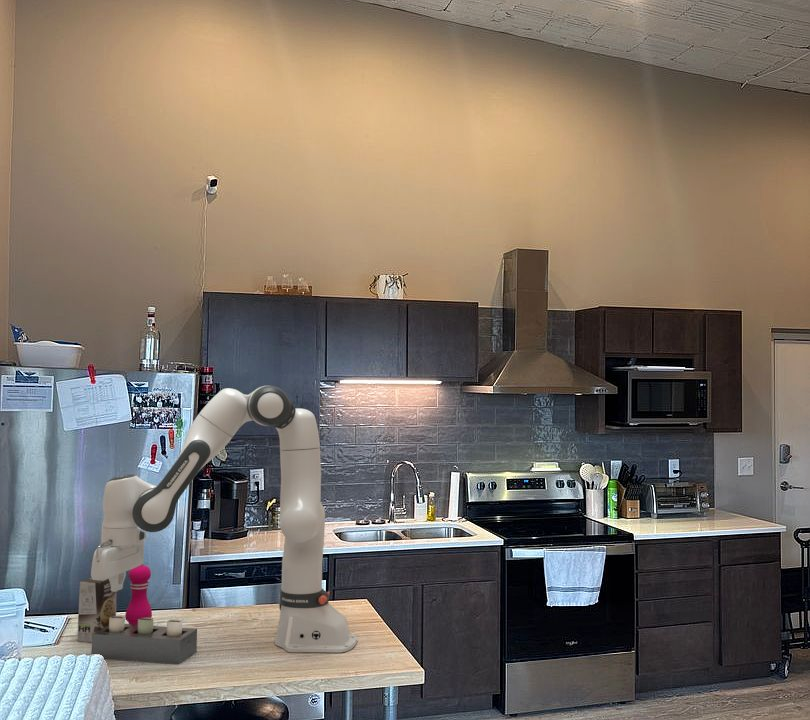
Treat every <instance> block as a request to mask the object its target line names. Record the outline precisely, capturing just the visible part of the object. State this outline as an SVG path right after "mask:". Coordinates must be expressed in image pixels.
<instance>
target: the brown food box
mask: <svg viewBox="0 0 810 720" xmlns="http://www.w3.org/2000/svg"><path fill="white" fill-rule="evenodd" d="M117 592H118V591H117ZM117 592H112V591H111V584H110V581H109V579H106V580H104V581H100V580H93V579H92V577H89V578H86V579H83V580H80V581H79V591H78V593H79V594H78V614H77V615H78V616H77V617H78V620H77V622H78V623H77V638H76V641H77V642H88V643H92V634H93V633H95V632H97V631H99V630H100V629H102V628H104V627H106V626H108V625H109V618H110V617H112V616H117V597H118V596H117V595H118V593H117Z"/></svg>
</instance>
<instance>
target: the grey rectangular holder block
mask: <svg viewBox="0 0 810 720" xmlns="http://www.w3.org/2000/svg"><path fill="white" fill-rule="evenodd" d="M197 643H198V628H194V627H193V628H192V627H190V628H189V627H182V635H181V636H180V637H174V636H167V626H162V625H161V626H159V625H153V633H152V634H150V635H146V634H138V625H135V624H129V623H125V629H124V631H123V632H121V633H117V632H109V625H108V626H106V627H104V628H102V629H100V630H99V631H97V632H95V633H93V634H92V642H91V654H100V655H102V656H103V657H104V658H105V659H104V660H112V661H113V660H114V661H115V660H116V661H128V662H130V661H131V662H141V663H153V664H155V663H157V664H167V665H179V664H180V665H181V664H182V663H184V662H185V661H186V660H188V659H190V658H191V657H192V656H193V655H195V654H196V653H197V652H198V651H197V650H198V649H197V648H198V646H197V645H198V644H197Z"/></svg>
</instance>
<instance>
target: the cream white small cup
mask: <svg viewBox="0 0 810 720" xmlns="http://www.w3.org/2000/svg"><path fill="white" fill-rule="evenodd" d="M166 627H167V636H174V637H180V636H181V635H182V628H183V620H182V619H178V618H177V619H176V618H175V619H170V620H167V621H166Z"/></svg>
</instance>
